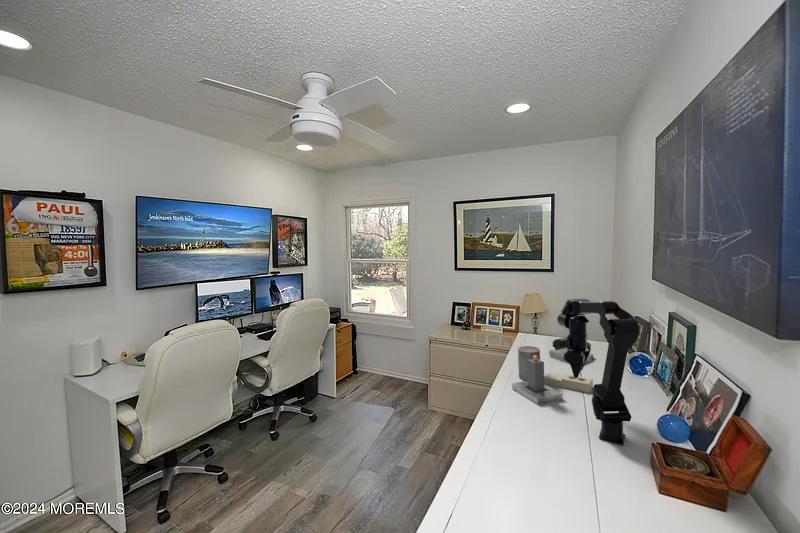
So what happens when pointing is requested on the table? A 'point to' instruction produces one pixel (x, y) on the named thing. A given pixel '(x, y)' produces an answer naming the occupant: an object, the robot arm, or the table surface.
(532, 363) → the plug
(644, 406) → the table surface
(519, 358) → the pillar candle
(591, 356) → the fossil
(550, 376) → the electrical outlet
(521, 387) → the socket plate
